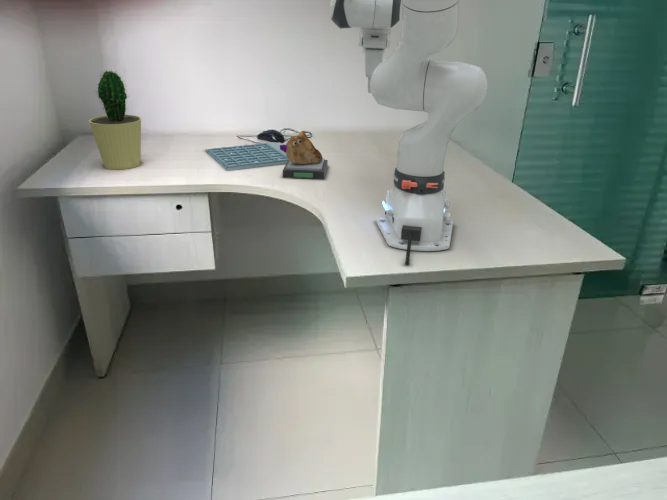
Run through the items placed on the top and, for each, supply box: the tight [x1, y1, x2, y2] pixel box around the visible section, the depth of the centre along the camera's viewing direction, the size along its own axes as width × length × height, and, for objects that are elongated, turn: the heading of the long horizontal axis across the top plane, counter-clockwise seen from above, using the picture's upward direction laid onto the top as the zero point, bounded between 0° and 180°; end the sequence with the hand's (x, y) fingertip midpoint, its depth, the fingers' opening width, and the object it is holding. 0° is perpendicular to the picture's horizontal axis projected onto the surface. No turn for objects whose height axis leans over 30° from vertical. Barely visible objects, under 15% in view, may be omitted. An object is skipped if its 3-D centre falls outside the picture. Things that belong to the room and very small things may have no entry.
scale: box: [282, 157, 329, 180], centre depth 169 cm, size 14×13×3 cm
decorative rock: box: [285, 130, 324, 164], centre depth 165 cm, size 12×6×11 cm, turn 117°
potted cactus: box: [88, 68, 142, 170], centre depth 166 cm, size 15×15×30 cm
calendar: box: [205, 141, 289, 171], centre depth 185 cm, size 27×29×2 cm
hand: (370, 90), depth 154 cm, fingers open, 8 cm apart
